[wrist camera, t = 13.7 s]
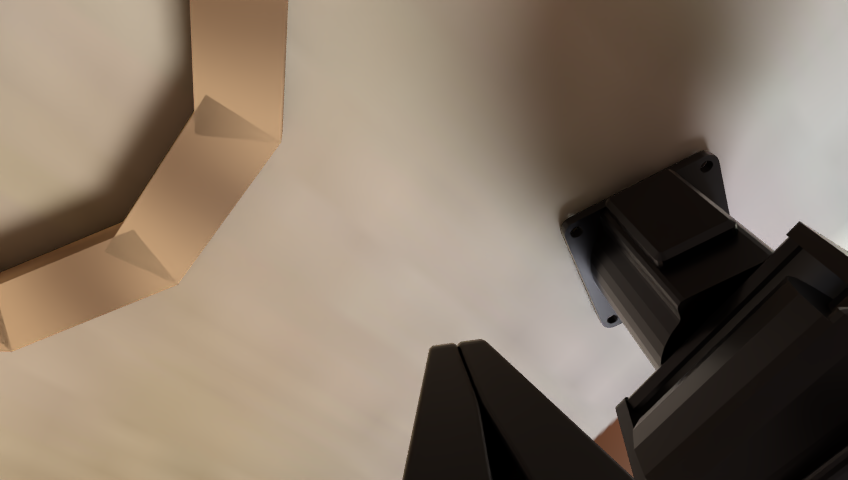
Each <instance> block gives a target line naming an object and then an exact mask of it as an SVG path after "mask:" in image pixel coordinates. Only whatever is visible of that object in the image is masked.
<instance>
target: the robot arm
mask: <svg viewBox="0 0 848 480" xmlns="http://www.w3.org/2000/svg"><path fill="white" fill-rule="evenodd" d="M705 161H707V163H706V164H705V166H703V167H702V168H701V165H702V164H703V163H704V162H705ZM575 227H578V229H577V230H576V231H575V232H572V233H571V231H572V229H573V228H575ZM561 233H562V235H563V238H564V240H565V242H566V244H567V247H568V249H569V251H570V254H571V256H572V258H573V261H574V263H575V265H576V268H577V270H578V272H579V274H580V277H581V279H582V281H583V284H584V286H585V288H586V291H587V293H588V295H589V298H590V300H591V302H592V304H593V307H594V309H595V311H596V314H597V316H598V318H599V320H600V321H601V323H602V324H603V326H604V327H607V328H611V327H614V326H617V325H619V324H621V323H623V324H624V325H625V327H626V328H627V330H628V331H629V332H630V334H631V335H632V337H633V338H634V340H635V341H636V342H637V344H638V345H639V347H640V348H641V350H642V351H643V352H644V354H645V355H646V357H647V358H648V360H649V361H650V362H651V364H652V365H653V367H654V368H655V369H656V371H655V372H654V373H653V374H652V375H651V376H650V377H649V378H648V379H647V380H646V381H645V382H644V383H643V384H642V385H641V386H640V387H639V388H638V389H637V390H636V391H635V392H634V393H633V394H632V395H631V396H630V397H629V398H628V397H625V398H624V399H623V400H622V401H621V402H620V403H619V404H618V405H617V406H616V412H617V416H618V420H619V424H620V427H621V431H622V435H623V438H624V442H625V446H626V450H627V453H628V457H629V461H630V465H631V469H632V472H633V476H634V478H633V477H632V476H631V475H630V474H629V473H628V472H626V470H624V469H623V468H622V467H621V466H620V465H619V464H618V463H617V462H616V461H615V460H614V459H613V458H611V457H610V456H609V455H608V454H607V453H606V452H605V451H604V450H603V449H602V448H601V447H600V446H598V445H597V444H596V443H595V442H594V441H593V440H592V439H591V438H590V437H589V436H588V435H587V434H586V433H584V432H583V431H582V430H581V429H580V428H579V427H578V426H577V425H576V424H575V423H574V422H573V421H572V420H570V419H569V418H568V417H567V416H566V415H565V414H564V413H563V412H562V411H561V410H560V409H559V408H557V407H556V406H555V405H554V404H553V403H552V402H551V401H550V400H549V399H548V398H547V397H546V396H545V395H543V394H542V393H541V392H540V391H539V390H538V389H537V388H536V387H535V386H534V385H533V384H532V383H530V382H529V381H528V380H527V379H526V378H525V377H524V376H523V375H522V374H521V373H520V372H519V371H518V370H516V369H515V368H514V367H513V366H512V365H511V364H510V363H509V362H508V361H507V360H506V359H505V358H504V357H502V356H501V355H500V354H499V353H498V352H497V351H496V350H495V349H494V348H493V347H492V346H491V345H489V344H488V343H487V342H486V341H485V340H482V339H477V340H470V341H463V342H460V343H459V344H458V345H456V344H454V343H449V344H442V345H435V346H432V347H431V348H430V349H429V353H428V358H427V363H426V368H425V373H424V378H423V382H422V387H421V392H420V397H419V402H418V407H417V412H416V416H415V421H414V426H413V431H412V436H411V441H410V445H409V450H408V455H407V460H406V465H405V470H404V475H403V479H402V480H848V251H846V250H845V249H843V248H841V247H840V246H838V245H837V244H835V243H834V242H832V241H830V240H829V239H827V238H826V237H824V236H822V235H821V234H819V233H818V232H816V231H814V230H813V229H811V228H810V227H808V226H806V225H805V224H803V223H802V222H800V221H799V222H798V223H797V224H796V225H795V226H794V227H793V228H792V229H791V230H790V231H789V232H788V233H787V234H786V235H787V236H788V238H787V239H786V240H785V241H784V242H783V243H782V244H781V245H780V246H779V247H778V248H777V249H776V250H775V251H774V250H773V249H771V248H770V247H769V246H768V245H766V244H765V243H764V242H763V241H761V240H760V239H759V238H758V237H756V236H755V235H754V234H753V233H751V232H750V231H749V230H748V229H746V228H745V227H744V226H743V225H741V224H740V223H739V222H738V221H736V220H735V219H734V218H732V217H731V216H730V214H729V209H728V204H727V199H726V194H725V189H724V184H723V179H722V174H721V168H720V163H719V160H718V158H717V157H716V156H715V155H713V154H712V153H710V152H709V151H701V152H698V153H696V154H694V155H692V156H690V157H688V158H686V159H684V160H682V161H680V162H678V163H676V164H674V165H672V166H670V167H668V168H666V169H664V170H663V171H661V172H659V173H657V174H655V175H653V176H651V177H649V178H647V179H645V180H643V181H641V182H639V183H637V184H635V185H633V186H631V187H629V188H627V189H625V190H623V191H621V192H619V193H617V194H615V195H613V196H611V197H609V198H607V199H605V200H604V201H602V202H600V203H598V204H596V205H594V206H592V207H590V208H588V209H586V210H584V211H582V212H580V213H578V214H576V215H574V216H572V217H570V218H568V219H567V220H566V221H565V222H564V223H563V224H562V227H561ZM610 316H611V317H610ZM608 317H609V318H608Z"/></svg>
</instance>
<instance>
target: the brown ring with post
mask: <svg viewBox="0 0 848 480" xmlns="http://www.w3.org/2000/svg"><path fill="white" fill-rule="evenodd" d="M287 15H288V0H190V22H191V46H192V70H193V94H194V112H193V114H192V115H191V117H190V118H189V120H188V121H187V123H186V124H185V126H184V128H183V129H182V131H181V132H180V134H179V135H178V137H177V139H176V140H175V142H174V143H173V145H172V146H171V148H170V149H169V151H168V153H167V154H166V156H165V157H164V159H163V160H162V162H161V163H160V165H159V167H158V168H157V170H156V171H155V173H154V174H153V176H152V177H151V179H150V181H149V182H148V184H147V185H146V187H145V188H144V190H143V191H142V193H141V195H140V196H139V198H138V199H137V201H136V202H135V204H134V205H133V207H132V209H131V210H130V212H129V213H128V215H127V216H126V218H125V219H124V221H123V222H121V223H119V224H116V225H114V226H111V227H109V228H107V229H104V230H102V231H99V232H97V233H95V234H92V235H90V236H87V237H85V238H82V239H80V240H78V241H75V242H73V243H70V244H68V245H66V246H63V247H61V248H58V249H56V250H53V251H51V252H49V253H46V254H44V255H41V256H39V257H37V258H34V259H32V260H29V261H27V262H24V263H22V264H20V265H17V266H15V267H12V268H10V269H8V270H5V271H3V272H0V351H5V352H12V351H14V350H17V349H19V348H22V347H24V346H27V345H29V344H32V343H34V342H37V341H39V340H42V339H44V338H47V337H49V336H52V335H54V334H57V333H59V332H62V331H64V330H66V329H69V328H71V327H74V326H76V325H79V324H81V323H84V322H86V321H89V320H91V319H94V318H96V317H99V316H101V315H104V314H106V313H109V312H111V311H113V310H116V309H118V308H121V307H123V306H126V305H128V304H131V303H133V302H136V301H138V300H141V299H143V298H146V297H148V296H151V295H153V294H156V293H158V292H160V291H163V290H165V289H168V288H170V287H173V286H175V285H178V283H179V282H180V281H181V279H182V278H183V276H184V275H185V274H186V272H187V271H188V270H189V268H190V267H191V265H192V264H193V263H194V261H195V260H196V258H197V257H198V256H199V254H200V253H201V252H202V250H203V249H204V247H205V246H206V245H207V243H208V242H209V241H210V239H211V238H212V236H213V235H214V234H215V232H216V231H217V230H218V228H219V227H220V225H221V224H222V223H223V221H224V220H225V219H226V217H227V216H228V214H229V213H230V212H231V210H232V209H233V208H234V206H235V205H236V203H237V202H238V201H239V199H240V198H241V197H242V195H243V194H244V192H245V191H246V190H247V188H248V187H249V186H250V184H251V183H252V181H253V180H254V179H255V177H256V176H257V175H258V173H259V172H260V170H261V169H262V168H263V166H264V165H265V163H266V162H267V161H268V159H269V158H270V157H271V155H272V154H273V152H274V151H275V150H276V148H277V147H278V146H279V144H280V143H281V138H282V131H283V130H282V128H283V105H284V83H285V60H286V37H287Z"/></svg>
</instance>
